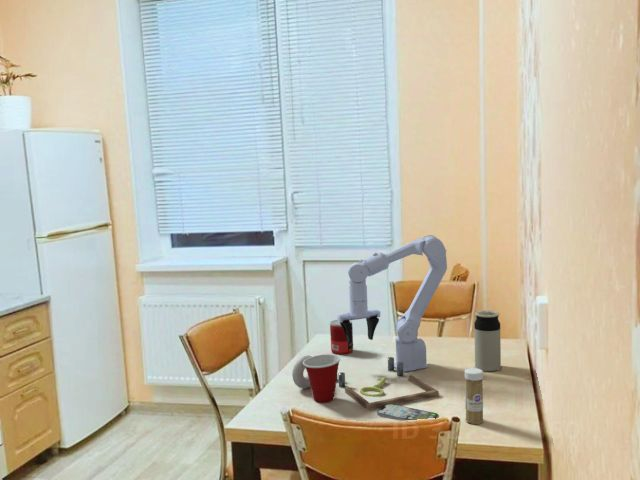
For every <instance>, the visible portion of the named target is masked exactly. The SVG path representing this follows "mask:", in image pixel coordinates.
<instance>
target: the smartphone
mask: <svg viewBox="0 0 640 480" xmlns="http://www.w3.org/2000/svg"><path fill="white" fill-rule="evenodd" d="M376 415H377V416H378V417H382V418H388V419H393V420H399V421H402V420H417V419H428V418H436V419H437V418H438V417H439V414H438V413H437V412H433V411H427V410H422V409H418V408H413V407H407V406H402V405H400V404H397V405H394V404H386V405H384V406H383V407H382V408H379V409H378V410H377V411H376Z"/></svg>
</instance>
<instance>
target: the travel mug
mask: <svg viewBox="0 0 640 480" xmlns="http://www.w3.org/2000/svg"><path fill="white" fill-rule="evenodd" d="M474 315H475V317H476V318H475V321H474V325H473V326H474V327H473V328H474V368H477V369H480V370H482V371H483V372H489V371H491V372H496V371H498V370H500V369H501V368H502V366H501V365H502V364H501V362H502V361H501V357H502V355H501V354H502V353H501V322H500V320H499V316H500V312H498V311H495V310H479V311H475V313H474Z"/></svg>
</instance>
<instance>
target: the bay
mask: <svg viewBox="0 0 640 480" xmlns="http://www.w3.org/2000/svg"><path fill="white" fill-rule="evenodd" d="M407 376H408V377H407V381H408V382H410V383H411V384H413V385H415V386H417V387H418V388H420V389H422V390H423V392H417V393H412V394H407V395H402V396H397V397H393V398H392V397H391V398H388V399H382V400H377V401H373V402H369V401H368V400H367V399H366V398H364V397H363V396H361V394H359V393H357V392H356V391H355V390H353V389H352V388H351V387H350V386H345V387H344V393H345V394H346V395H348V397H350V398H352V399H353V400H354V401H355V402H357V404H359V405H360V406H361V407H363V408H364V409H365V410H366V411H371V410H378V409H381V408H382V407H383V406H384V405H386V404H394V405H401V404H406V403H410V402H411V403H412V402H416V401H422V400H426V399H432V398H435V397H439V391H438V389H436V388H434V387H433V386H431V385H429V384H427V383H425V382H424V381H422V380H421V379H419V378H418V377H415V376H413V375H412V374H411V375H407Z"/></svg>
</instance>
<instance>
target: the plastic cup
mask: <svg viewBox="0 0 640 480" xmlns="http://www.w3.org/2000/svg"><path fill="white" fill-rule="evenodd" d="M340 361H341V357H340V355H338V354H333V353H332V354H330V353H329V354H328V353H327V354H324V353H323V354H318V355H316V354H315V355H313V356H312V357H309V358H307V359H305V360H304V361H303V365H304V366H305V367H306V368H305V371H306V373H307V374H308V377H309V381H310V390H311V393H312V398H313V399H314V402H315V403H321V404H325V403H326V404H327V403H332V401H334V400H335V395H336V387H337V381H338V380H337V377H338V370H339V363H340Z"/></svg>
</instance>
